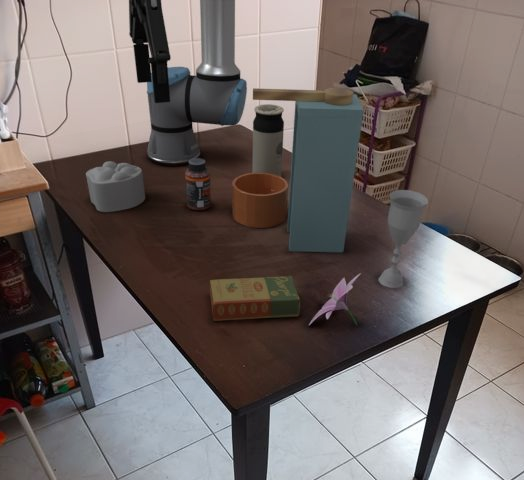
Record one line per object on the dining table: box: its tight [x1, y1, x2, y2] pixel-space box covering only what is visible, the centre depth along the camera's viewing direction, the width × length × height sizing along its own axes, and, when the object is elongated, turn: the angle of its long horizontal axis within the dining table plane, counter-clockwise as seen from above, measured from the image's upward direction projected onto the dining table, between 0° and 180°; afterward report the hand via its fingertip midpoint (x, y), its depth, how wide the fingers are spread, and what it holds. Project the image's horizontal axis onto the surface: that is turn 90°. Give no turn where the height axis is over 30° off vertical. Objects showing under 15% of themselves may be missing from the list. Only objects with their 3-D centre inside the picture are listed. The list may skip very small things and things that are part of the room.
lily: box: [308, 272, 362, 326], centre depth 98 cm, size 12×12×10 cm
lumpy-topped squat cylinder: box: [85, 160, 146, 213], centre depth 133 cm, size 10×13×9 cm
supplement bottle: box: [184, 158, 212, 211], centre depth 131 cm, size 6×6×11 cm
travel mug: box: [251, 103, 285, 177], centre depth 143 cm, size 8×8×18 cm
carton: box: [209, 275, 301, 322], centre depth 101 cm, size 8×16×4 cm, turn 98°
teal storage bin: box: [286, 93, 365, 253], centre depth 113 cm, size 10×12×30 cm
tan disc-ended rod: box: [252, 87, 354, 105], centre depth 103 cm, size 19×6×2 cm, turn 90°
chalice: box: [378, 189, 429, 289], centre depth 105 cm, size 7×7×18 cm
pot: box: [231, 172, 289, 229], centre depth 129 cm, size 13×13×8 cm
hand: (153, 91), depth 102 cm, fingers open, 13 cm apart
